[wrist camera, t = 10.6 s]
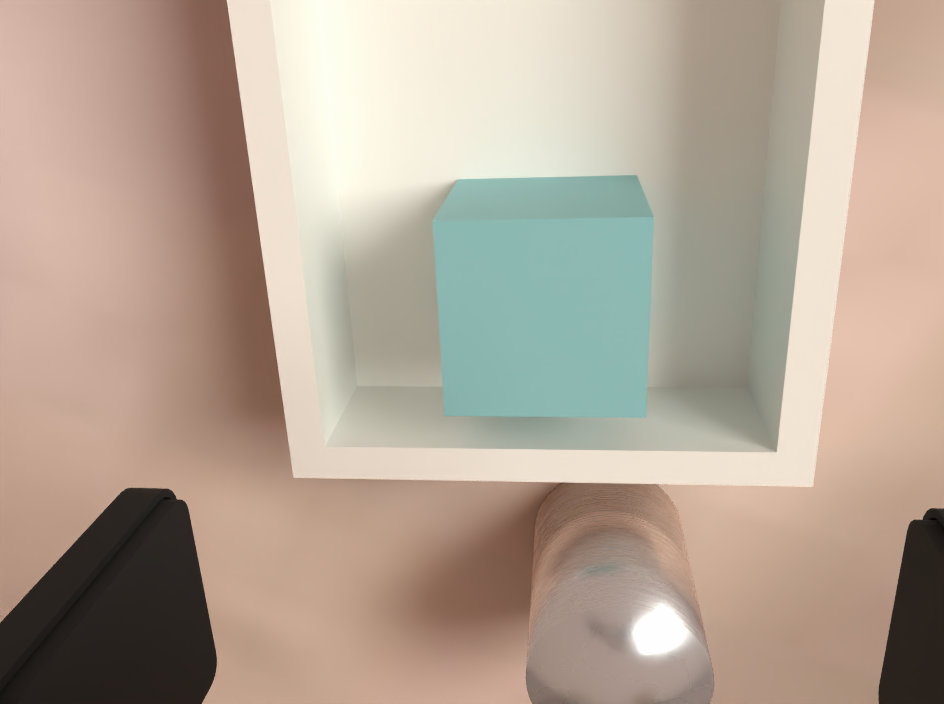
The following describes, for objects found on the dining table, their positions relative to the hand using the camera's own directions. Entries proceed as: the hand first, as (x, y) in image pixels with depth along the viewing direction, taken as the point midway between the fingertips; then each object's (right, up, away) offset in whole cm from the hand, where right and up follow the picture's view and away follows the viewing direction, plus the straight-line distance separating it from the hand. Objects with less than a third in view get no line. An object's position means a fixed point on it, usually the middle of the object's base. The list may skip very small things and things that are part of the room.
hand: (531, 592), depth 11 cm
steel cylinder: (+4, -3, +18) cm, 19 cm away
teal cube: (+1, +6, +14) cm, 15 cm away
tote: (+1, +10, +13) cm, 16 cm away
